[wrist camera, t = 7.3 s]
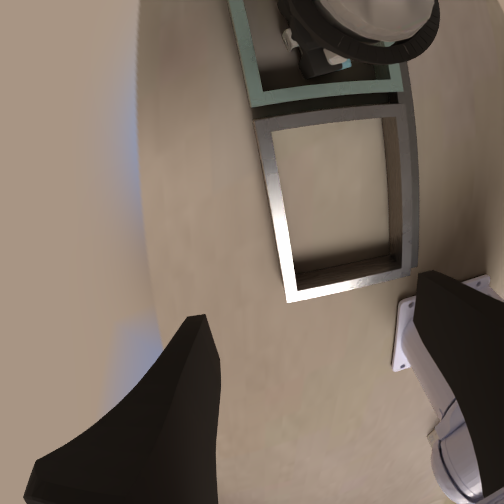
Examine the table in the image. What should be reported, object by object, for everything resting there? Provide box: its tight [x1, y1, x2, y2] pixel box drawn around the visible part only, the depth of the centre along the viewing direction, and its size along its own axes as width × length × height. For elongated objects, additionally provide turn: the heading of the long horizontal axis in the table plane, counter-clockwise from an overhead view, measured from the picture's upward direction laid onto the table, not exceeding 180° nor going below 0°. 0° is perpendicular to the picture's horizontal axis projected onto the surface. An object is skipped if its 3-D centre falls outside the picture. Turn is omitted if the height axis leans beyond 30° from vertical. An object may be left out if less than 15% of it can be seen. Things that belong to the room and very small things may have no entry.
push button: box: [278, 0, 440, 79], centre depth 10 cm, size 7×5×10 cm
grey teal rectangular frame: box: [227, 0, 419, 303], centre depth 16 cm, size 9×22×2 cm, turn 11°
